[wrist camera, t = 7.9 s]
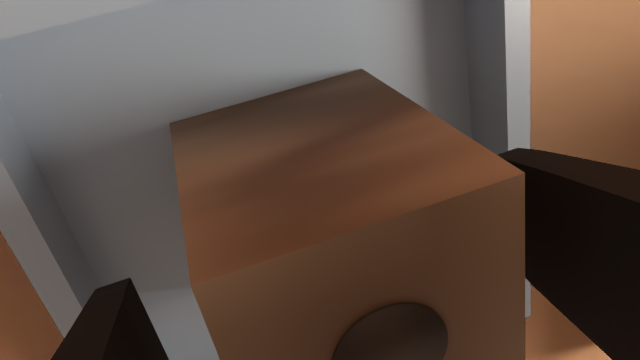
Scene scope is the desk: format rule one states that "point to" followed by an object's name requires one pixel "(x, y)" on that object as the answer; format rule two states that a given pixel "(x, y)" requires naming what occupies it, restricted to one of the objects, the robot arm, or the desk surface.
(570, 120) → the desk surface
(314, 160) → the block
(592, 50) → the desk surface
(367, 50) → the tray
